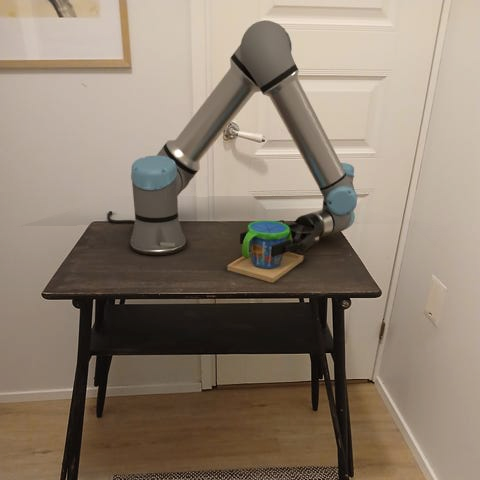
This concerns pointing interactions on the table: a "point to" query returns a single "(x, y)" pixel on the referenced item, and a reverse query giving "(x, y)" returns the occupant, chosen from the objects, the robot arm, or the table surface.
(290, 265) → the tray
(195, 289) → the table surface
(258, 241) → the snack cup
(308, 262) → the table surface
